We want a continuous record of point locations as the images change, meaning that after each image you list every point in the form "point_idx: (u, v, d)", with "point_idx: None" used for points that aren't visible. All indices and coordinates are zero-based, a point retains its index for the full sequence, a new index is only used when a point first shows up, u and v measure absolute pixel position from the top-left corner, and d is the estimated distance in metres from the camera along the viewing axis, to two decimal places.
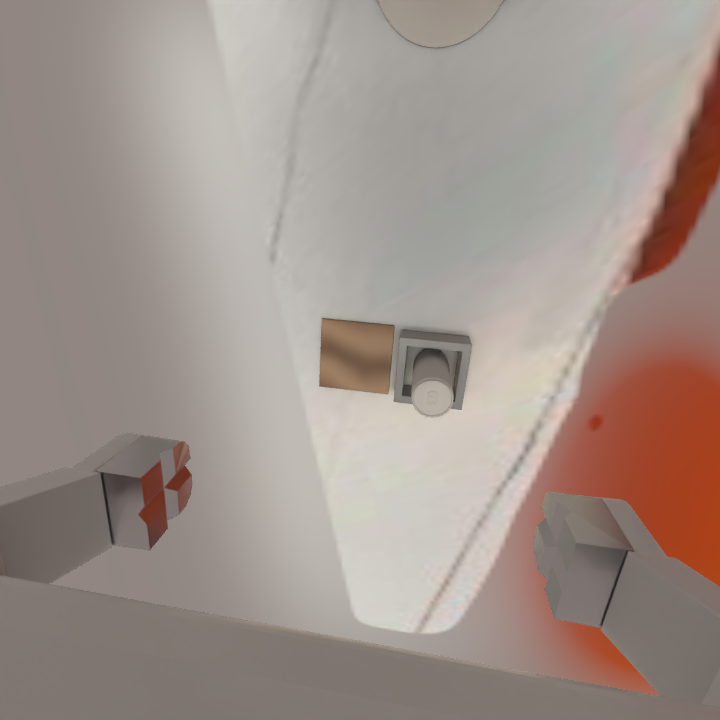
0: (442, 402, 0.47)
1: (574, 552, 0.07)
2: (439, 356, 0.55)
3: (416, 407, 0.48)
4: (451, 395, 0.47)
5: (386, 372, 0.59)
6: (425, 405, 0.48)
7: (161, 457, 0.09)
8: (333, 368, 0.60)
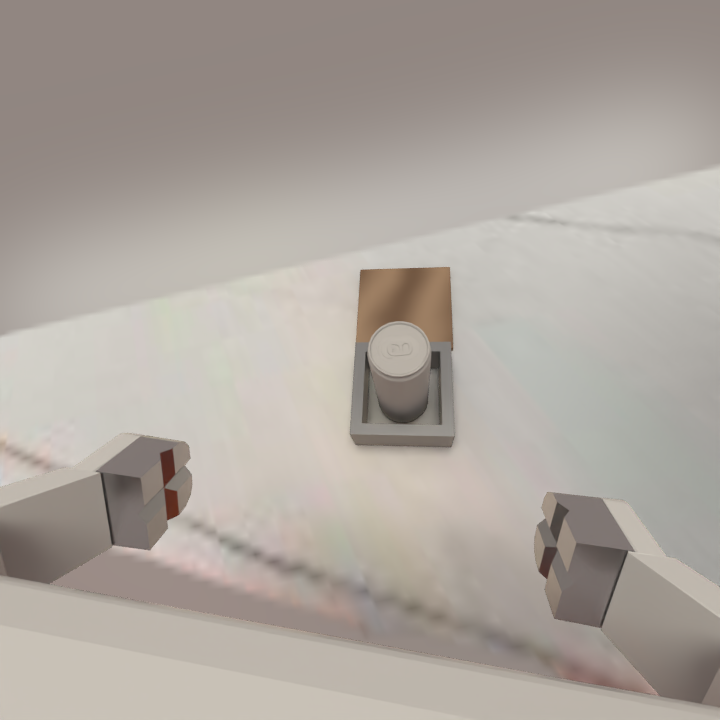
0: (395, 362, 0.31)
1: (574, 552, 0.07)
2: (427, 398, 0.38)
3: (382, 328, 0.32)
4: (408, 373, 0.30)
5: None
6: (386, 340, 0.32)
7: (161, 457, 0.09)
8: (386, 283, 0.47)
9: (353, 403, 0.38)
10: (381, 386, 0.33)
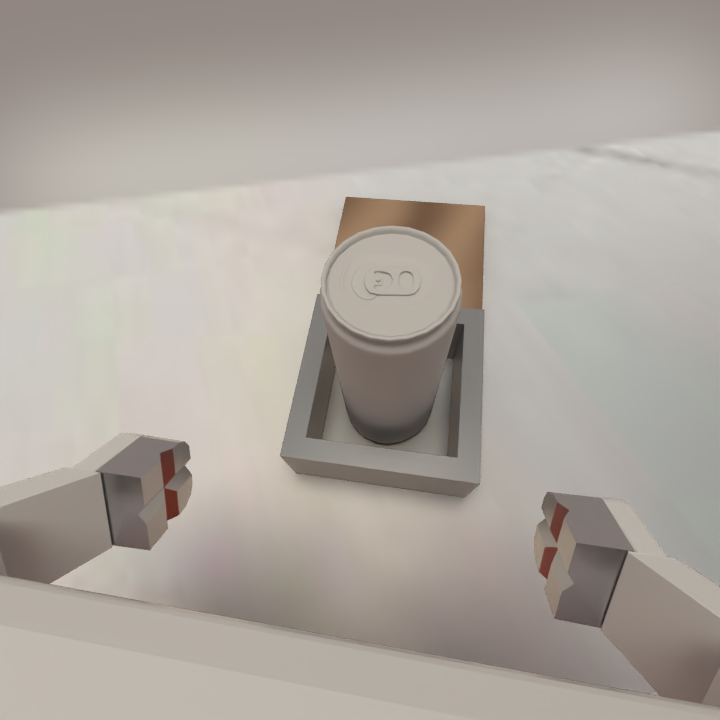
0: (379, 307, 0.13)
1: (574, 552, 0.07)
2: (432, 405, 0.21)
3: (359, 238, 0.15)
4: (406, 335, 0.13)
5: None
6: (364, 262, 0.14)
7: (161, 457, 0.09)
8: (383, 219, 0.30)
9: (296, 398, 0.21)
10: (345, 365, 0.16)
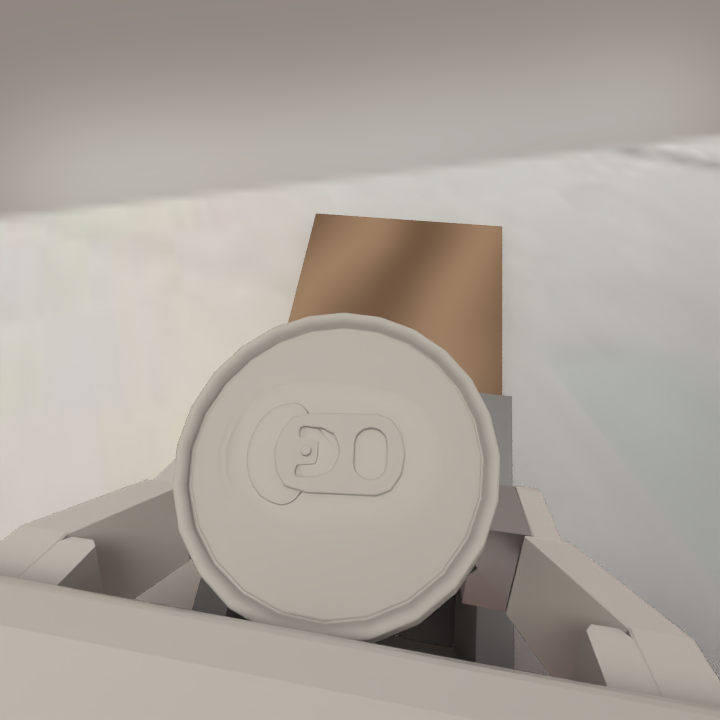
0: (303, 532, 0.06)
1: None
2: None
3: (275, 340, 0.07)
4: (364, 626, 0.05)
5: None
6: (281, 400, 0.06)
7: None
8: (365, 245, 0.22)
9: None
10: None
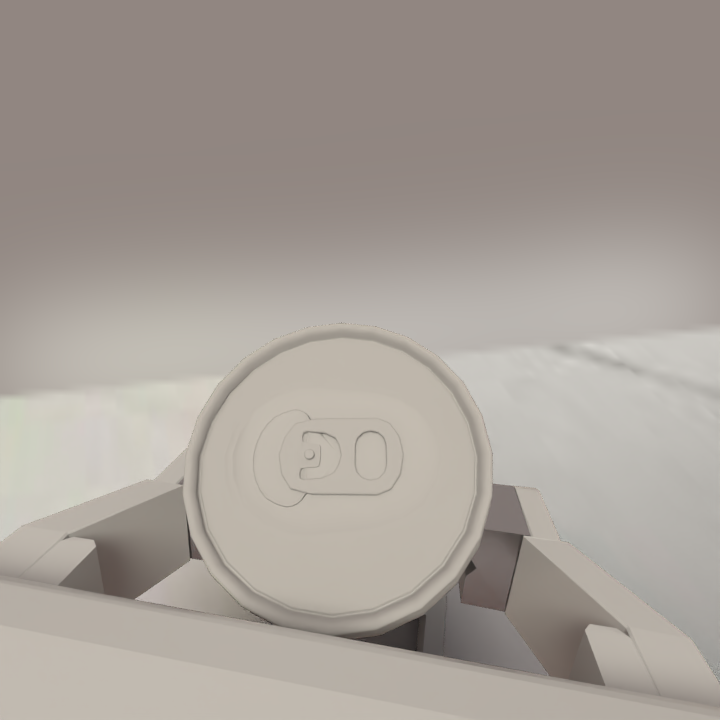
0: (309, 532, 0.06)
1: None
2: None
3: (276, 351, 0.07)
4: (370, 618, 0.05)
5: None
6: (284, 408, 0.07)
7: None
8: None
9: None
10: None
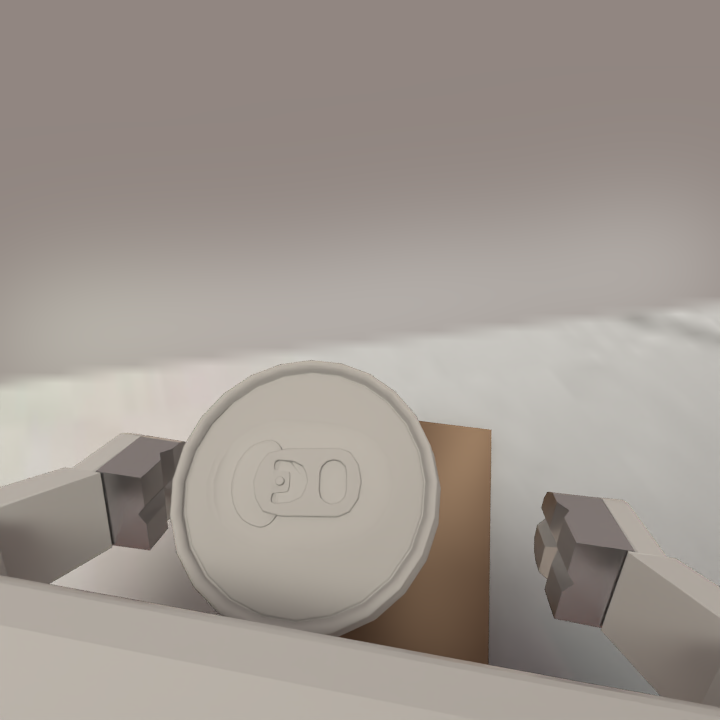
0: (278, 549, 0.07)
1: (574, 552, 0.07)
2: None
3: (253, 386, 0.08)
4: (327, 623, 0.06)
5: None
6: (259, 438, 0.08)
7: (161, 457, 0.09)
8: None
9: None
10: None
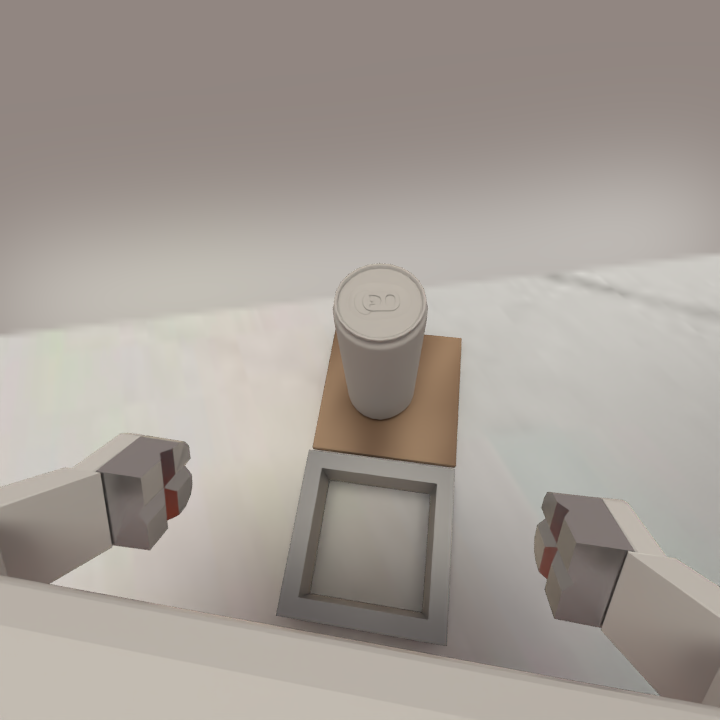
0: (373, 319, 0.20)
1: (574, 552, 0.07)
2: (413, 387, 0.28)
3: (358, 272, 0.22)
4: (391, 337, 0.20)
5: (359, 446, 0.30)
6: (362, 289, 0.21)
7: (161, 457, 0.09)
8: None
9: (290, 558, 0.24)
10: (350, 359, 0.23)
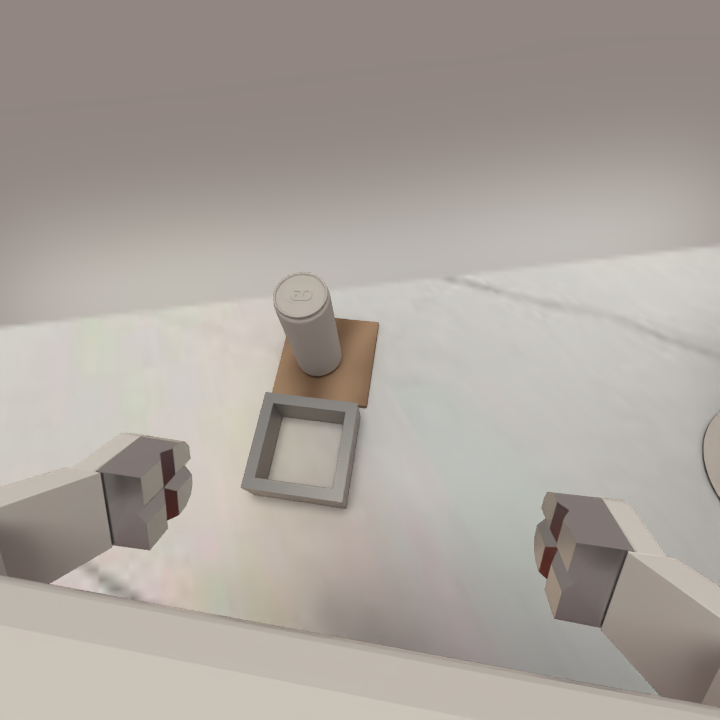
0: (295, 305, 0.35)
1: (574, 552, 0.07)
2: (336, 353, 0.42)
3: (289, 277, 0.36)
4: (304, 315, 0.34)
5: (303, 394, 0.44)
6: (290, 287, 0.36)
7: (161, 457, 0.09)
8: None
9: (250, 455, 0.38)
10: (286, 330, 0.37)
